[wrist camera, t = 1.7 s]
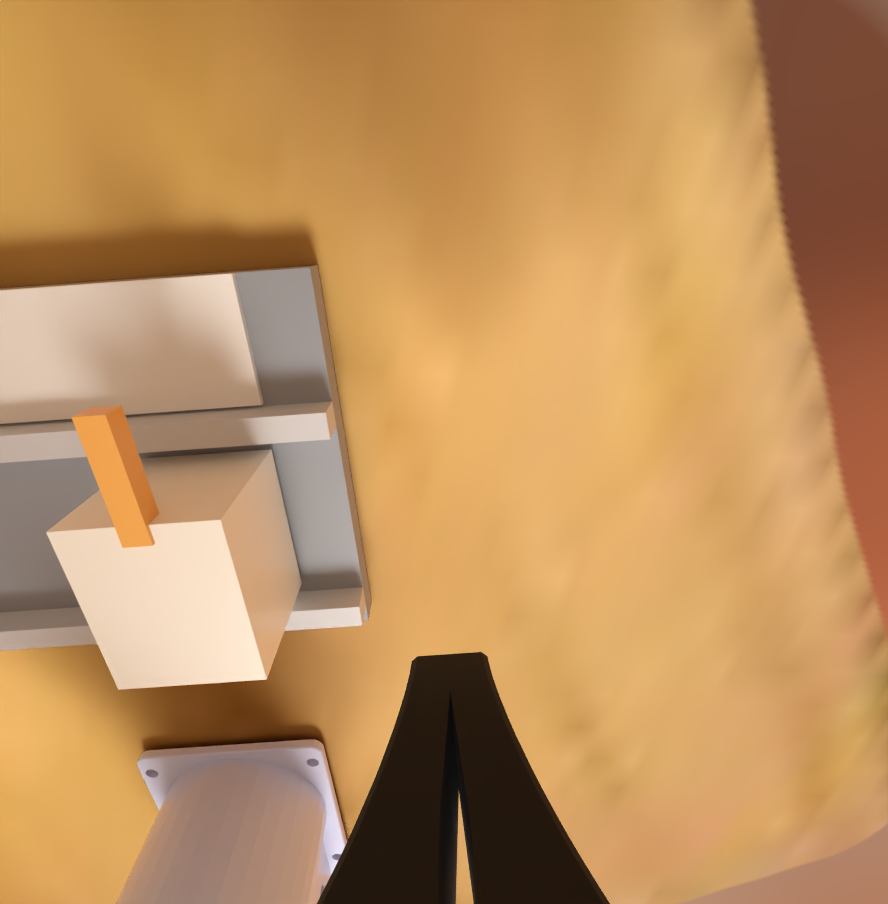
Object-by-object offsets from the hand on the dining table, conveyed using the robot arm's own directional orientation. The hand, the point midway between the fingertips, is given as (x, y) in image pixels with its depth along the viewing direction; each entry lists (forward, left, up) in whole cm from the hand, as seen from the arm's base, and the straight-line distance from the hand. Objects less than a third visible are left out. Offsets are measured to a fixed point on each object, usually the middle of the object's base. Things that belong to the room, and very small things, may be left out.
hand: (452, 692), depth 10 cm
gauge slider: (+1, +7, -7) cm, 10 cm away
